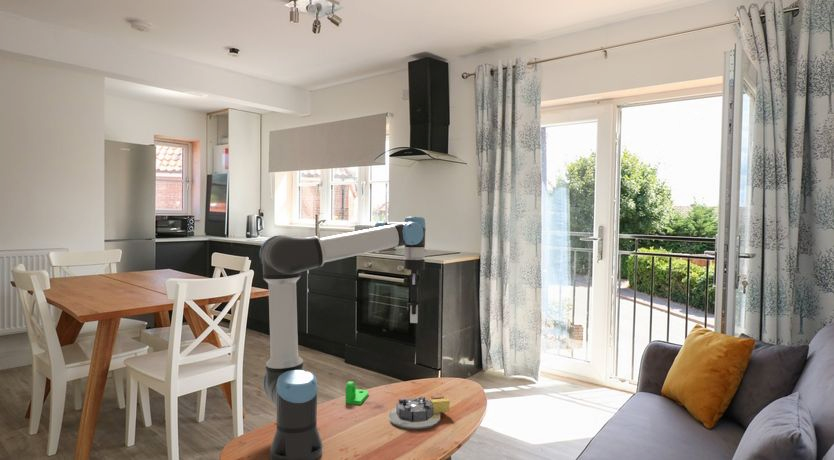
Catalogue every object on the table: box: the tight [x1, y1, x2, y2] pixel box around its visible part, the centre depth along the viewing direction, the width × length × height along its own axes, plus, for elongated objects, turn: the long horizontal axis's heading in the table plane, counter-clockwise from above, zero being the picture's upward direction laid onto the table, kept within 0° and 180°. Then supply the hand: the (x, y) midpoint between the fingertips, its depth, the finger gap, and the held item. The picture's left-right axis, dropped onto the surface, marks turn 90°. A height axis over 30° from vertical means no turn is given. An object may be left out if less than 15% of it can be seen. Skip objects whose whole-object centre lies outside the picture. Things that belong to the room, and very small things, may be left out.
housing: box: [388, 393, 445, 431], centre depth 171 cm, size 21×18×6 cm
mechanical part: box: [345, 381, 369, 406], centre depth 189 cm, size 12×6×8 cm, turn 168°
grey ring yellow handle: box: [395, 396, 450, 421], centre depth 171 cm, size 19×12×4 cm, turn 106°
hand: (413, 322), depth 178 cm, fingers closed
